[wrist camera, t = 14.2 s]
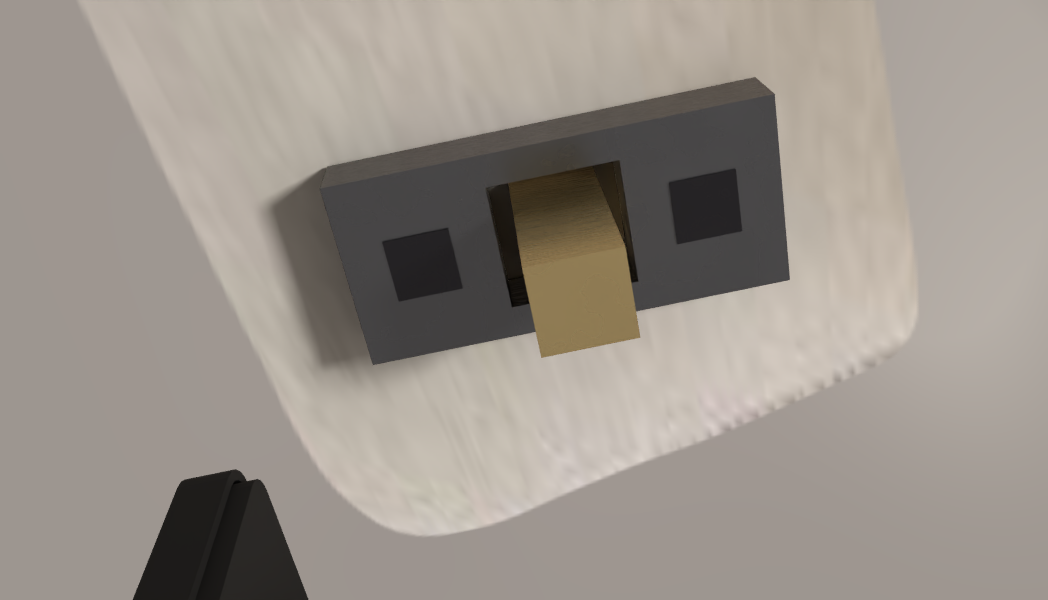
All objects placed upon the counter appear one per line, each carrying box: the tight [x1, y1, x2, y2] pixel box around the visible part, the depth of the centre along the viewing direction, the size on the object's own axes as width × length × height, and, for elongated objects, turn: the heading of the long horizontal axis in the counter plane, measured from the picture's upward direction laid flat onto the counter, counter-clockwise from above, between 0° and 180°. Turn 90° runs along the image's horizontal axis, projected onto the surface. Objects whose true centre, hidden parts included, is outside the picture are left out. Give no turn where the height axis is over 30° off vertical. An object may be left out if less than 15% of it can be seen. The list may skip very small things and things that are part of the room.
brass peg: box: [508, 166, 640, 358], centre depth 43 cm, size 4×4×10 cm
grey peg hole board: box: [320, 77, 790, 365], centre depth 47 cm, size 9×20×3 cm, turn 101°
